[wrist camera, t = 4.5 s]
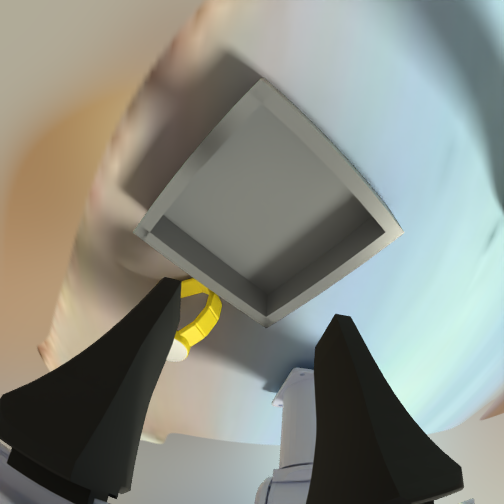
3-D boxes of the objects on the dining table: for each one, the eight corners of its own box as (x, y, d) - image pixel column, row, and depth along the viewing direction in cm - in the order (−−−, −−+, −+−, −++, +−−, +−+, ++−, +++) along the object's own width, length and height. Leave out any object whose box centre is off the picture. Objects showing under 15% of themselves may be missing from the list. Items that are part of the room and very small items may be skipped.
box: (263, 77, 13) (260, 78, 11) (390, 211, 16) (404, 232, 14) (148, 212, 18) (132, 232, 16) (268, 302, 21) (266, 328, 19)
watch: (164, 305, 23) (140, 364, 18) (146, 279, 22) (116, 339, 17) (231, 292, 21) (216, 359, 16) (215, 262, 20) (194, 330, 15)
